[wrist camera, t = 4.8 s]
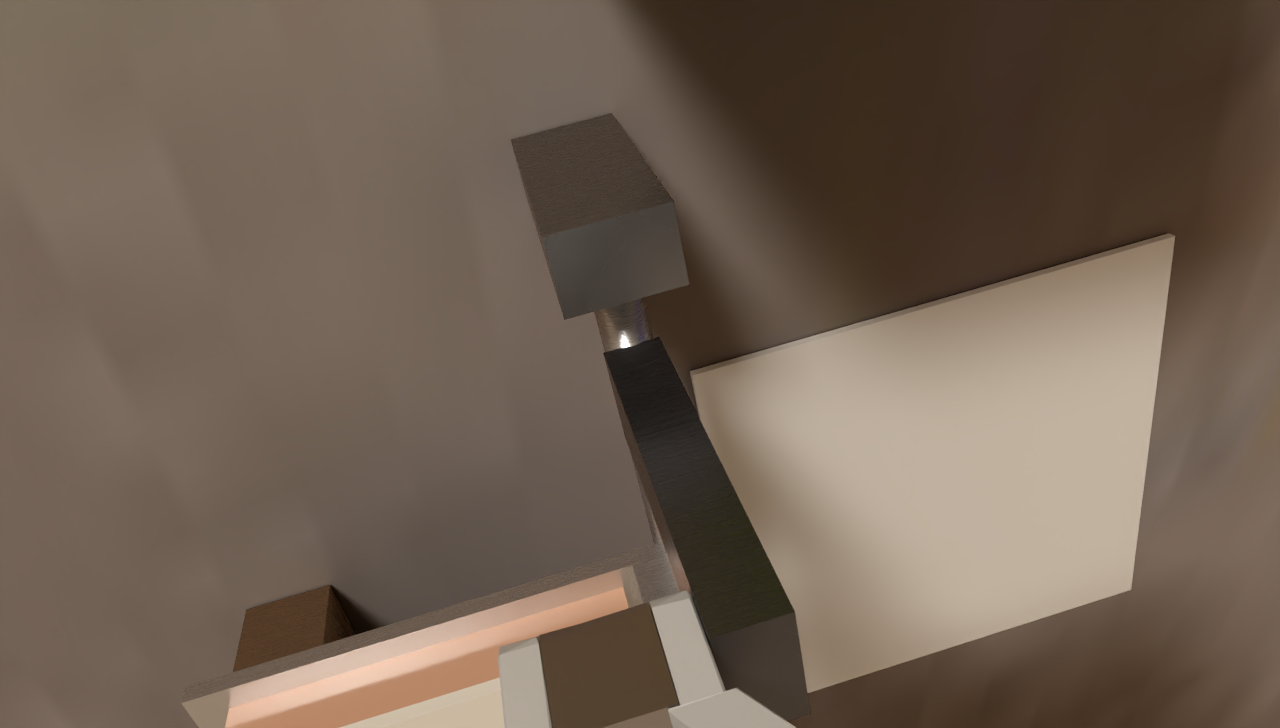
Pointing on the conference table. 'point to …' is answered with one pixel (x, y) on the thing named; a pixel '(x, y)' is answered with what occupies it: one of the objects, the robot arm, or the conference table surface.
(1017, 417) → the mat
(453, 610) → the flipper
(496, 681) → the tile
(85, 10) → the conference table surface
